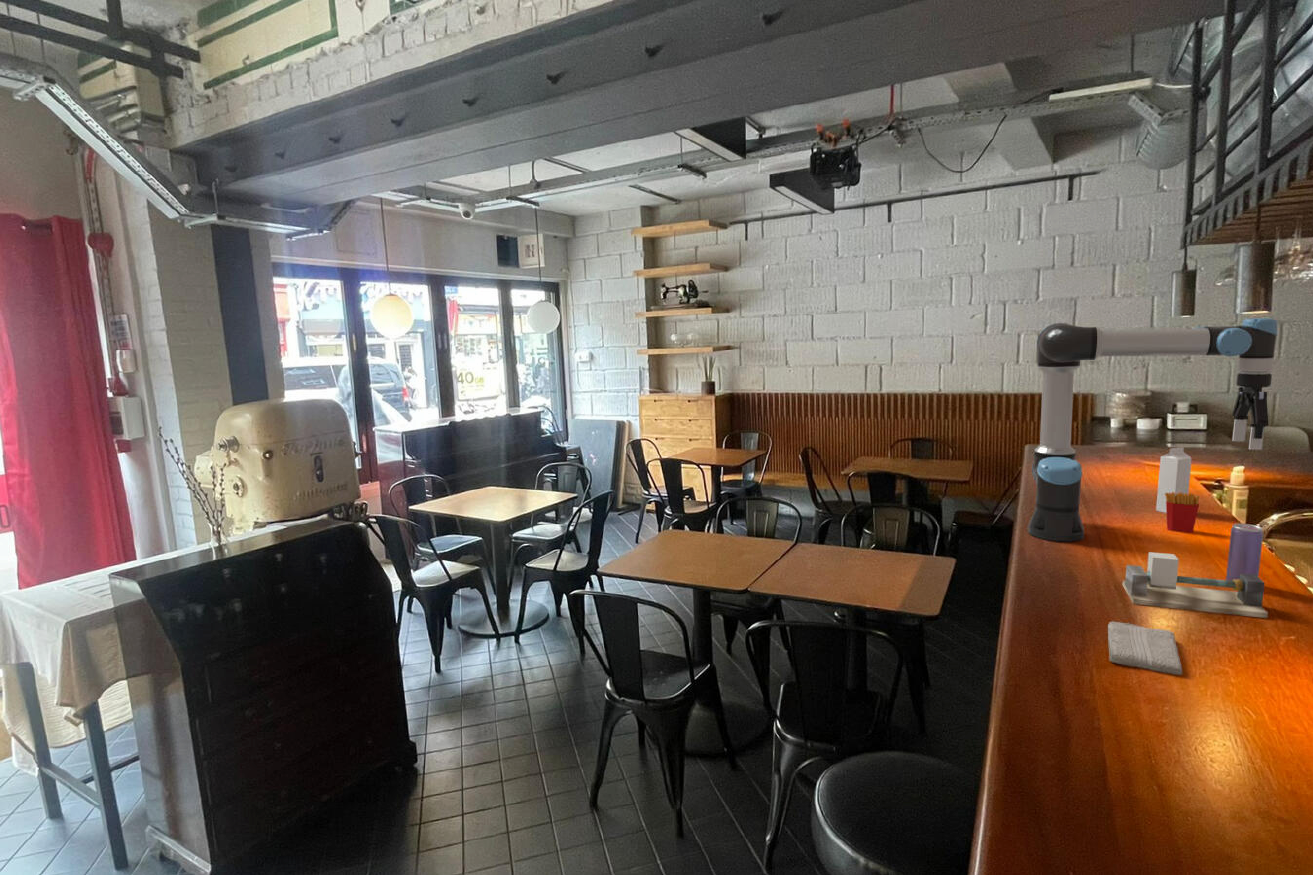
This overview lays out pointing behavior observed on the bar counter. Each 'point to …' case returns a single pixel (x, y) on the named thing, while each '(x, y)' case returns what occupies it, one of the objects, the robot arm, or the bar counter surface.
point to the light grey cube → (1162, 570)
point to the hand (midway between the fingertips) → (1246, 445)
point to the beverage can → (1244, 551)
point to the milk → (1173, 475)
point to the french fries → (1181, 511)
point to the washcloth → (1143, 648)
